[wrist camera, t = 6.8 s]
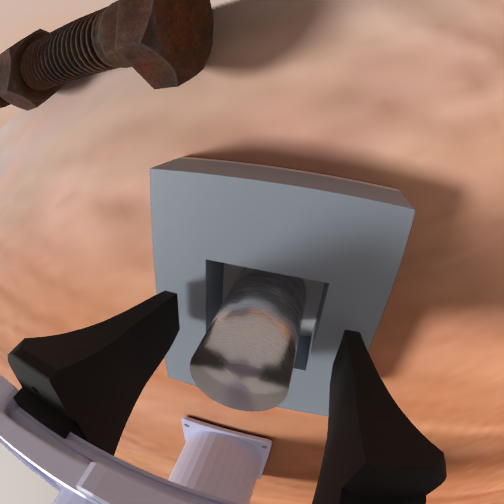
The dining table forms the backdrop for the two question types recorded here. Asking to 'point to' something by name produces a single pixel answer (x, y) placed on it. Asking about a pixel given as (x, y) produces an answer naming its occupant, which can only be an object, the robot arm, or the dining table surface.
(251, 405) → the pin
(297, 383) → the hole block
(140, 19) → the bolt
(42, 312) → the dining table surface
